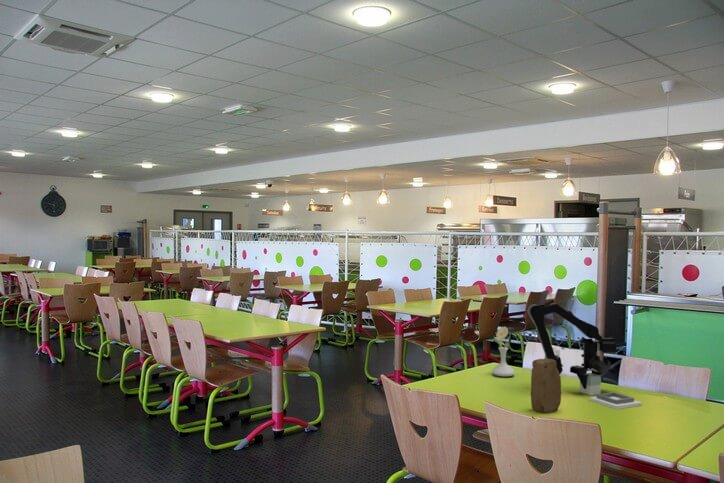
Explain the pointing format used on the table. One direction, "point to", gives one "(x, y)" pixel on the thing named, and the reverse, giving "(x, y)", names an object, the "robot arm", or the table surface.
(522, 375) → the table surface
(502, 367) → the flower in vase
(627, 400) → the socket plate
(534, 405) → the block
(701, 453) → the table surface
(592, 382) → the grey green box
